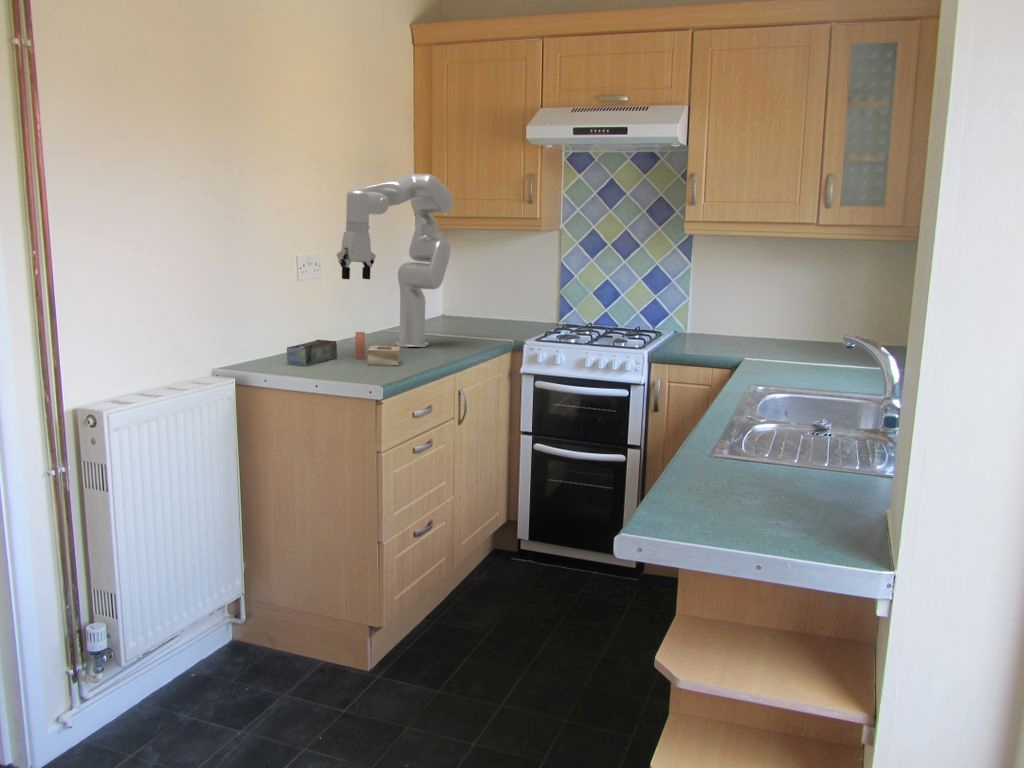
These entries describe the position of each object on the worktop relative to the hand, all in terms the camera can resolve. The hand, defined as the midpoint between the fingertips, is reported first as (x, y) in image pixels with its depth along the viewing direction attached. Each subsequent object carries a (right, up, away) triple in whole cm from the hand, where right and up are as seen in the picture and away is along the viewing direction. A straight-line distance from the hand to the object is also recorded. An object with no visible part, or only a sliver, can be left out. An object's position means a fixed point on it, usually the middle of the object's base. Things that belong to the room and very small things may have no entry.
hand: (356, 279), depth 293 cm
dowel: (+1, -27, +4) cm, 27 cm away
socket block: (+10, -29, -3) cm, 31 cm away
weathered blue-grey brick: (-14, -29, -5) cm, 32 cm away
